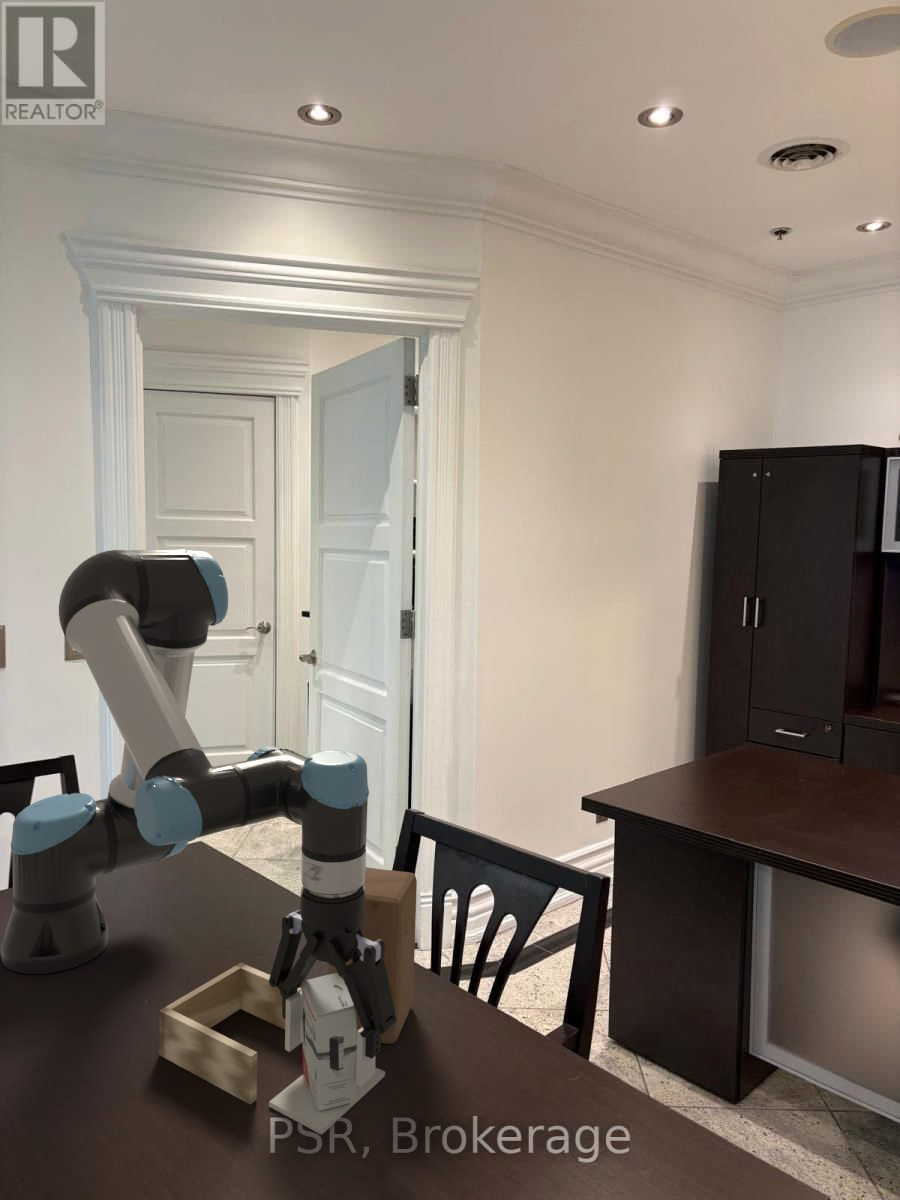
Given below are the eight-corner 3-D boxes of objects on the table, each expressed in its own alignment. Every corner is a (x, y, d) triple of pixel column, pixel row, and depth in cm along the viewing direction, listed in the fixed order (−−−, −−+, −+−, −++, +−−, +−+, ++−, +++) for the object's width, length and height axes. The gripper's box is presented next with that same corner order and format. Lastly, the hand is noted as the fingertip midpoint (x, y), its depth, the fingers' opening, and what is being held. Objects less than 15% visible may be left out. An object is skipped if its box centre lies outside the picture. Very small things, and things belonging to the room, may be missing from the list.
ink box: (300, 1069, 104) (300, 977, 103) (339, 1060, 106) (340, 970, 105) (316, 1113, 96) (317, 1014, 95) (358, 1102, 98) (359, 1006, 97)
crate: (159, 1055, 107) (159, 1010, 106) (240, 1002, 119) (240, 962, 118) (250, 1104, 98) (251, 1056, 98) (327, 1043, 110) (328, 1000, 110)
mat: (269, 1106, 98) (269, 1101, 98) (334, 1052, 108) (334, 1048, 108) (321, 1134, 94) (321, 1129, 94) (384, 1076, 104) (384, 1071, 104)
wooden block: (395, 1048, 110) (400, 902, 108) (323, 1036, 112) (326, 892, 110) (414, 1005, 120) (418, 870, 118) (347, 995, 122) (350, 862, 120)
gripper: (239, 871, 101) (238, 1043, 104) (393, 925, 90) (387, 1118, 92) (282, 851, 108) (280, 1014, 110) (431, 899, 96) (425, 1080, 98)
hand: (329, 1061), depth 101 cm, fingers open, 10 cm apart
